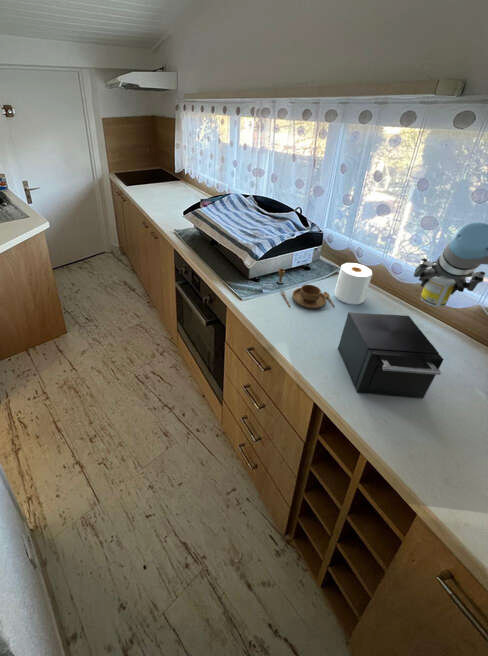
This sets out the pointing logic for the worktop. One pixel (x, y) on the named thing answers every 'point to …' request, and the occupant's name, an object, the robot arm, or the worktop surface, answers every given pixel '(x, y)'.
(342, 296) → the toilet paper
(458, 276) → the robot arm
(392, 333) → the oven
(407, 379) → the oven door
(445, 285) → the pill bottle
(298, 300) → the place setting
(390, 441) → the worktop surface
